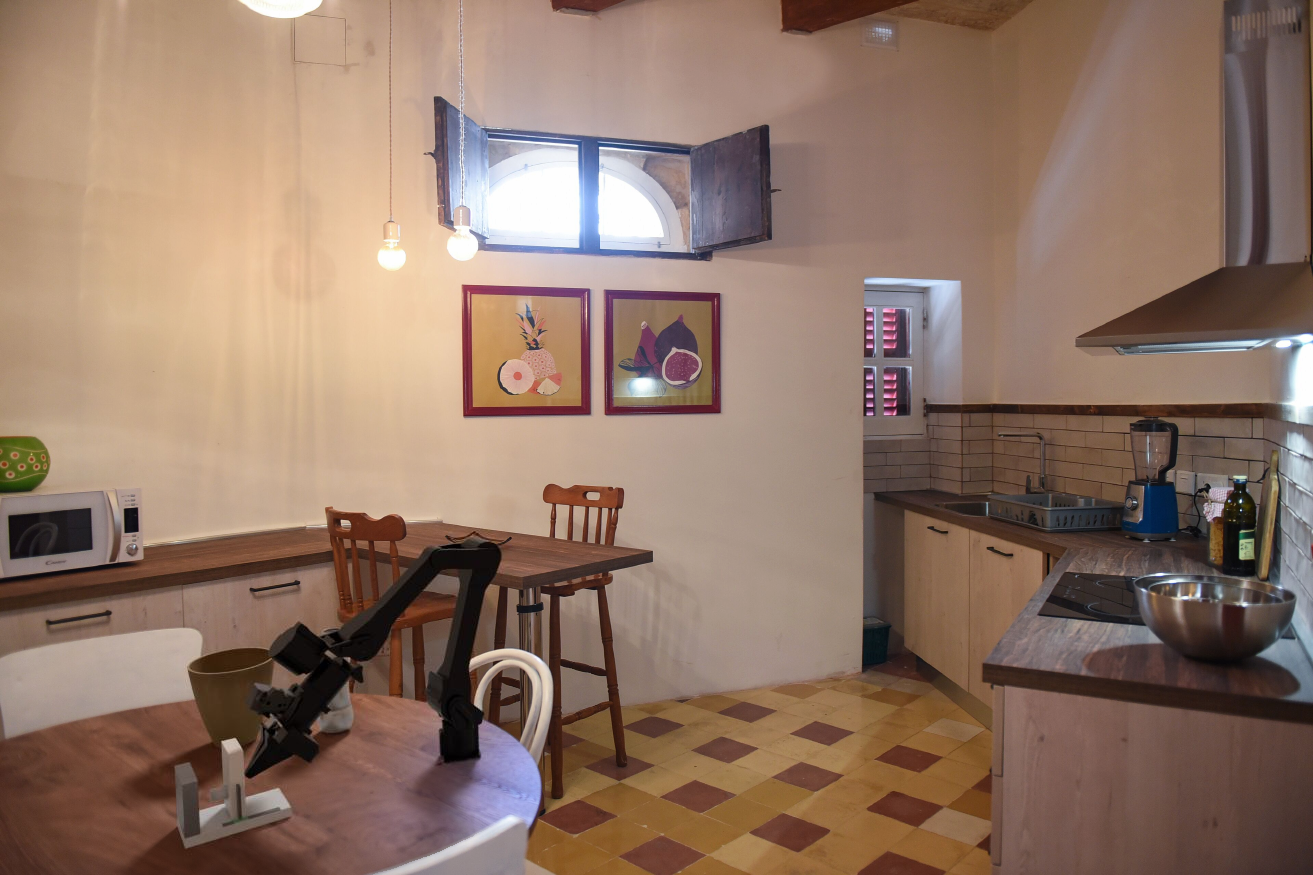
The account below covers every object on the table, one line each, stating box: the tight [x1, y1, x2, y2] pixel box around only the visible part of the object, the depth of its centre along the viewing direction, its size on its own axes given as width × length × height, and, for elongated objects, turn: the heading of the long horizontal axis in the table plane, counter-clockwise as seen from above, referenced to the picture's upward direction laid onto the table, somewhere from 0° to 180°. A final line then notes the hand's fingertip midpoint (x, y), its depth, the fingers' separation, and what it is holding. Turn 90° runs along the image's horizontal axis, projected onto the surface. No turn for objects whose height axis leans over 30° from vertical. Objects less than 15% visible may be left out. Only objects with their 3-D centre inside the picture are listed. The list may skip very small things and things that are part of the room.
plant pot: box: [186, 646, 275, 749], centre depth 156 cm, size 15×15×16 cm
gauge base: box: [176, 787, 292, 850], centre depth 126 cm, size 14×8×2 cm, turn 127°
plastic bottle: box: [316, 627, 355, 734], centre depth 160 cm, size 6×7×20 cm
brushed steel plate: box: [174, 761, 200, 839], centre depth 122 cm, size 2×8×8 cm, turn 37°
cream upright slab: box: [209, 738, 246, 820], centre depth 125 cm, size 4×7×10 cm, turn 37°
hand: (246, 776), depth 127 cm, fingers closed
